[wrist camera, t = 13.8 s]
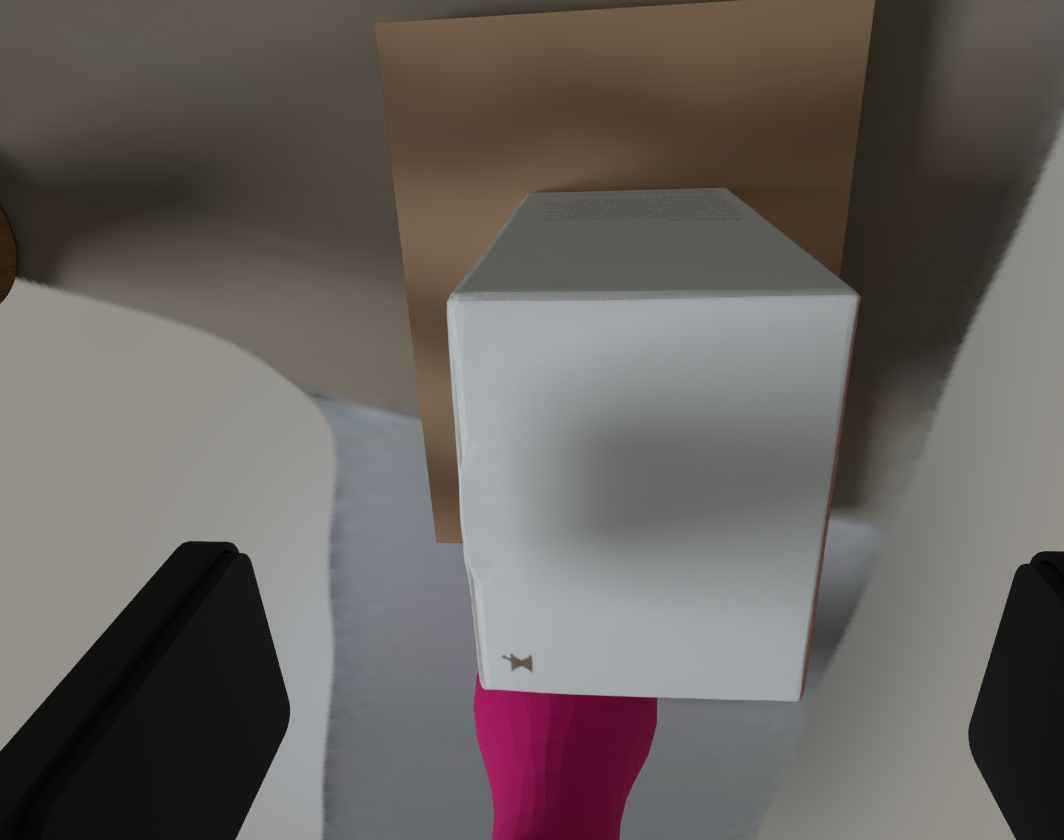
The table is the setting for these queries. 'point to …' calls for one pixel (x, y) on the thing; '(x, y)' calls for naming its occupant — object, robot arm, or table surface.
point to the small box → (647, 445)
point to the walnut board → (608, 138)
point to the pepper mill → (561, 760)
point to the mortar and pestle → (6, 258)
